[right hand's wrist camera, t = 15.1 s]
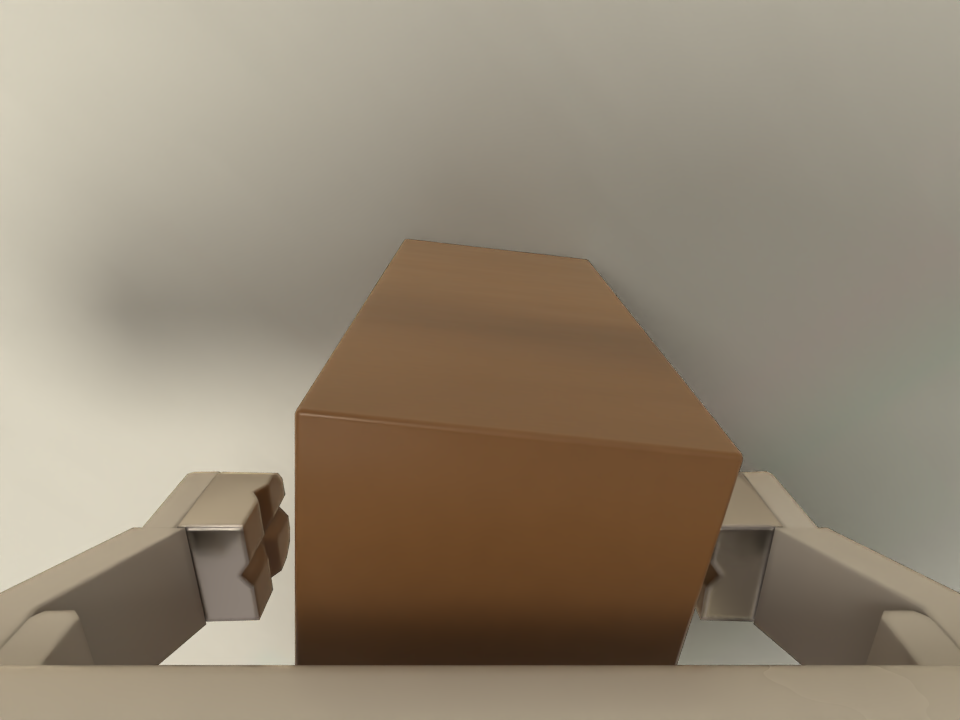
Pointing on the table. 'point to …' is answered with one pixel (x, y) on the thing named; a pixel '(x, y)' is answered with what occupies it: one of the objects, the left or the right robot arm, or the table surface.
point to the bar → (501, 474)
